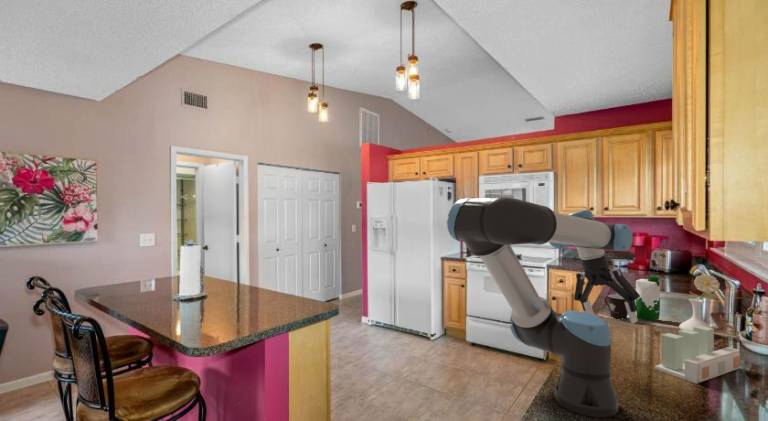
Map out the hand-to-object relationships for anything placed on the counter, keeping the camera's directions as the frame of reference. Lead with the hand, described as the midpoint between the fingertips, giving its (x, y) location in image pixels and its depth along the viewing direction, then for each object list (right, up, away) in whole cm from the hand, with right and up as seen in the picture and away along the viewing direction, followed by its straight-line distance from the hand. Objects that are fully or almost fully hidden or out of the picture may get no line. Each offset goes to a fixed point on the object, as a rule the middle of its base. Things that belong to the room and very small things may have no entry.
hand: (612, 321), depth 122 cm
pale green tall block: (+19, -15, 0) cm, 24 cm away
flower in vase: (+57, -16, +35) cm, 69 cm away
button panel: (+29, -16, +1) cm, 33 cm away
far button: (+36, -14, +7) cm, 39 cm away
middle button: (+27, -14, +4) cm, 31 cm away
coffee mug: (+38, -15, +59) cm, 72 cm away
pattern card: (+31, -16, -4) cm, 35 cm away
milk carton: (+51, -15, +56) cm, 77 cm away
